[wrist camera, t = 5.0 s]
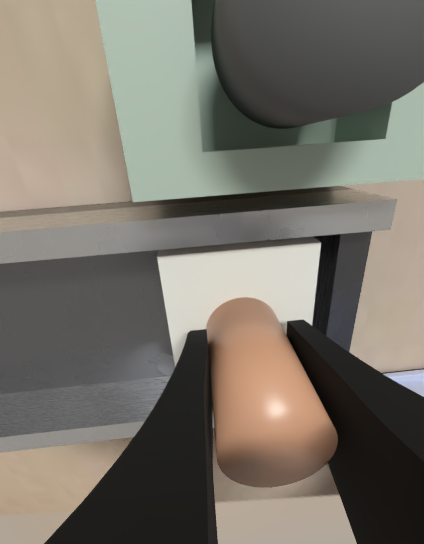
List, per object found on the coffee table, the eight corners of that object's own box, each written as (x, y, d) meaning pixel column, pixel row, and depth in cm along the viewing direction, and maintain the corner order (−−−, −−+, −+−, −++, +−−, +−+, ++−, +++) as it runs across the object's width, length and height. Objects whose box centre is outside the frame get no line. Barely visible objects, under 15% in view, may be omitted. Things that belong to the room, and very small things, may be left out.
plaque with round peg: (294, 359, 14) (370, 511, 8) (180, 371, 14) (173, 537, 8) (305, 231, 11) (435, 322, 5) (161, 243, 11) (126, 353, 5)
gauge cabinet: (337, 166, 12) (444, 177, 7) (157, 180, 12) (133, 202, 7) (362, -32, 9) (566, -252, 4) (129, -22, 9) (49, -245, 4)
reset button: (355, 123, 7) (466, 105, 4) (215, 134, 7) (233, 121, 4) (383, -81, 5) (588, -329, 3) (204, -74, 5) (220, -326, 2)
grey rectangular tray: (314, 354, 16) (350, 412, 13) (-55, 393, 15) (-130, 467, 12) (335, 185, 12) (397, 199, 9) (-169, 225, 11) (-339, 260, 8)
